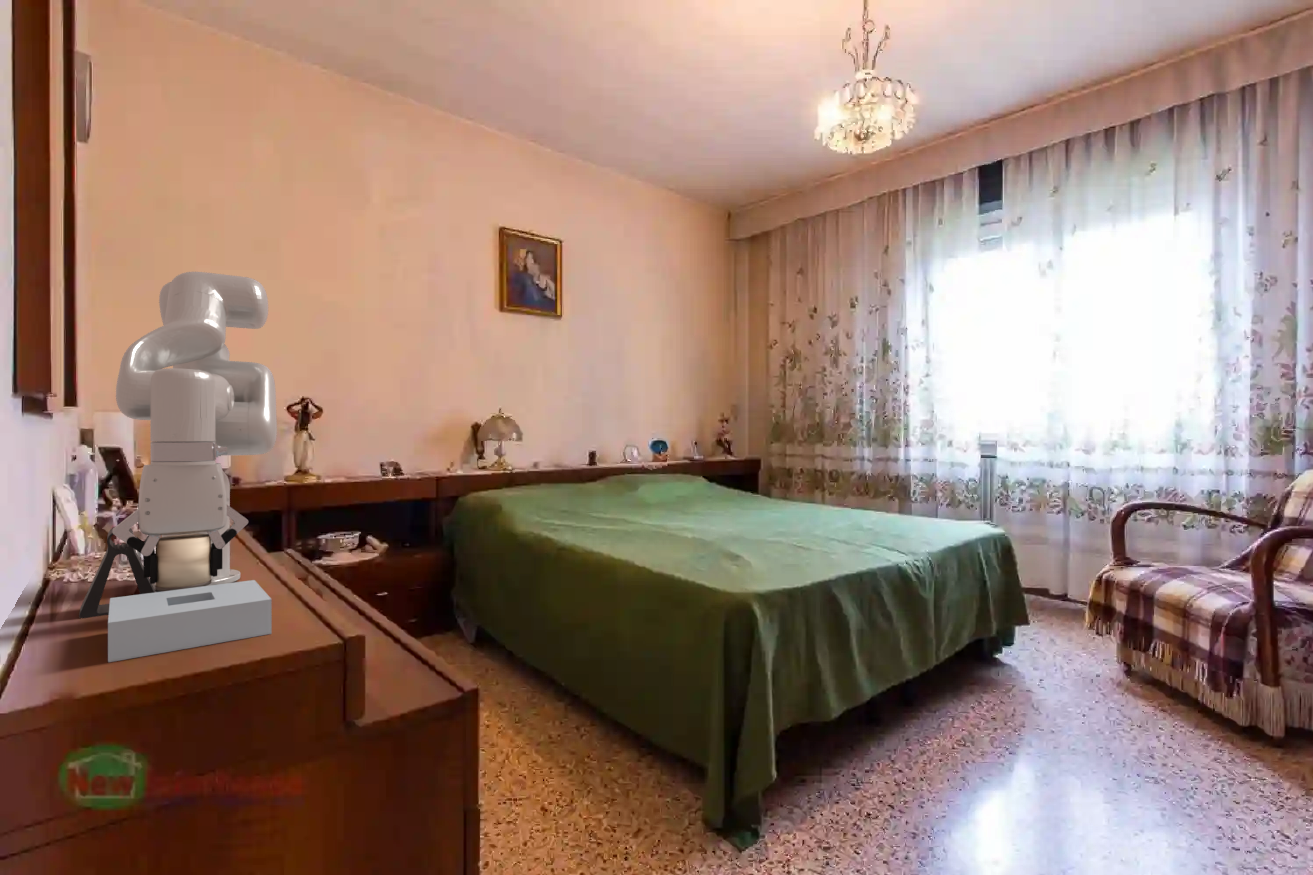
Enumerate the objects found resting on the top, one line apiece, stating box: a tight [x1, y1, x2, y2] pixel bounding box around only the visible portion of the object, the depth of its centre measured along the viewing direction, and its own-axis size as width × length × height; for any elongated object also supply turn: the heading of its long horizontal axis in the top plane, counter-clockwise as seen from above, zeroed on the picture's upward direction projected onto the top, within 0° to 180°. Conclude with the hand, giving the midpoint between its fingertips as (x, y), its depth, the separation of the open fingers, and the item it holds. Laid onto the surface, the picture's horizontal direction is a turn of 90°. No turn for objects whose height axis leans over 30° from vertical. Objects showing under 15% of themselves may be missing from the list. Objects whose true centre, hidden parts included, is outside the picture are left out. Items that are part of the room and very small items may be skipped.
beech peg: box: [155, 534, 212, 592], centre depth 91 cm, size 6×6×11 cm
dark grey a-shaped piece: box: [78, 526, 157, 619], centre depth 93 cm, size 9×6×12 cm, turn 130°
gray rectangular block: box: [107, 579, 273, 663], centre depth 82 cm, size 14×16×4 cm
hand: (183, 577), depth 91 cm, fingers closed on beech peg, 6 cm apart
